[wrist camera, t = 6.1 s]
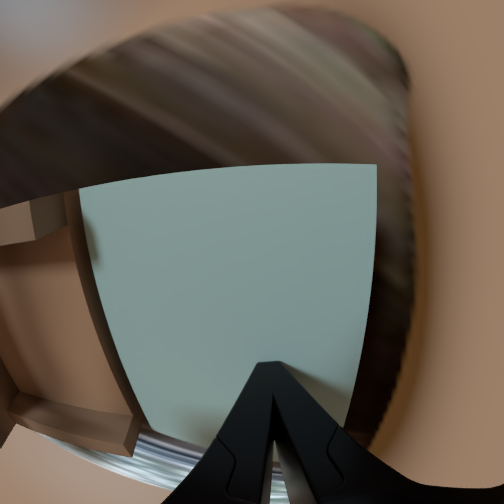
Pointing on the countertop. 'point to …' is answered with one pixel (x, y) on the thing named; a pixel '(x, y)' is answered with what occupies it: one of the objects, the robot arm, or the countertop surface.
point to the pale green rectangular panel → (234, 283)
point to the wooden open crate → (58, 333)
